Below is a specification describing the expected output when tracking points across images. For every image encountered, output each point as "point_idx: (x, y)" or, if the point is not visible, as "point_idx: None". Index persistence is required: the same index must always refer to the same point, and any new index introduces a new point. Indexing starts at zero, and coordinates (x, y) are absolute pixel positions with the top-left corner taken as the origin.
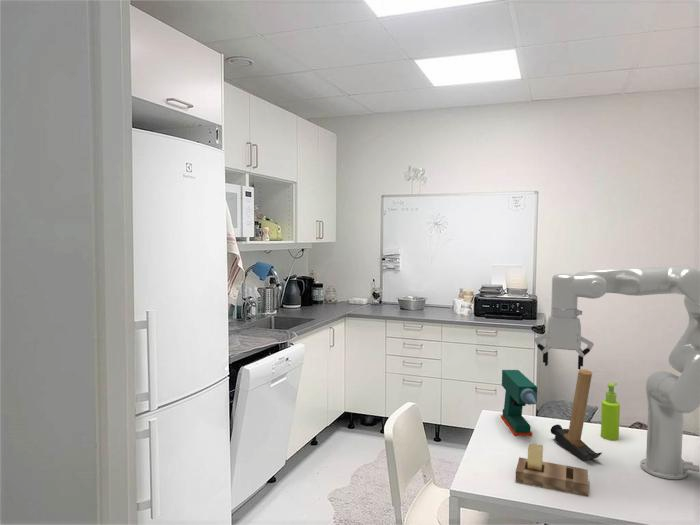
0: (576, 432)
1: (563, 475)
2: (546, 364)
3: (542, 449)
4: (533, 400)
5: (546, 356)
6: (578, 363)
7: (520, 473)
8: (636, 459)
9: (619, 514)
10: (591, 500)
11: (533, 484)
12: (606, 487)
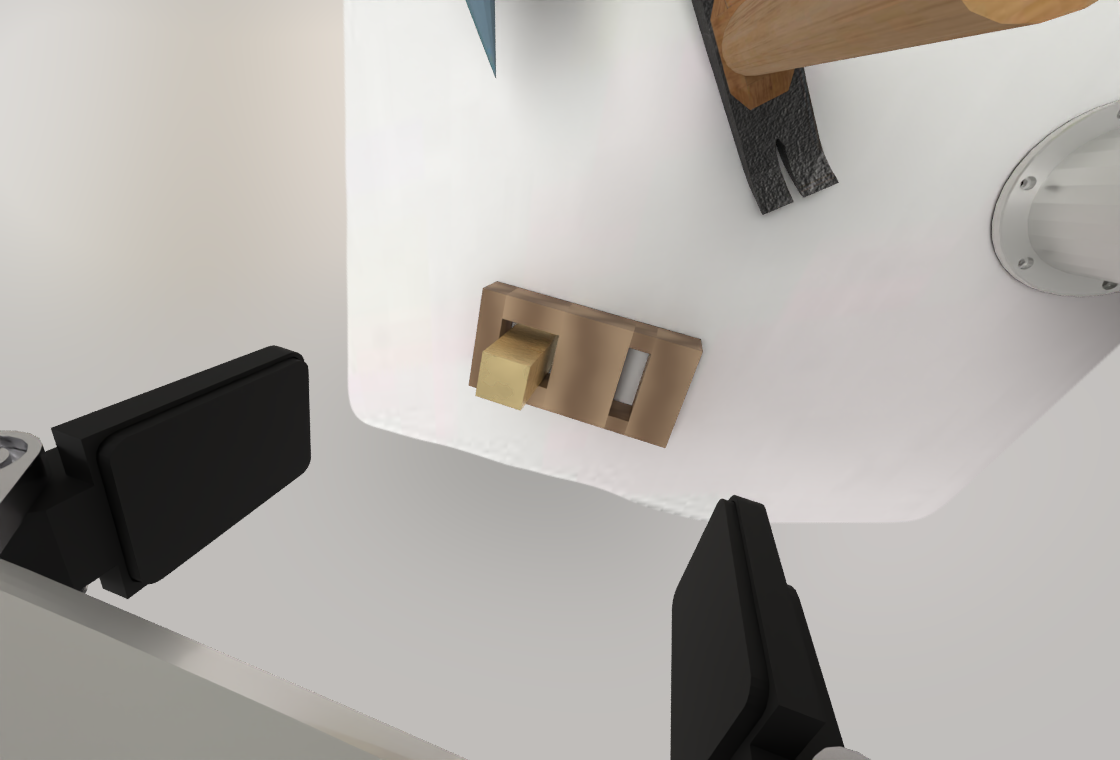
0: (759, 73)
1: (604, 400)
2: (286, 480)
3: (530, 377)
4: (472, 5)
5: (173, 558)
6: (675, 681)
7: None
8: (1044, 93)
9: None
10: (668, 448)
11: None
12: (747, 376)
